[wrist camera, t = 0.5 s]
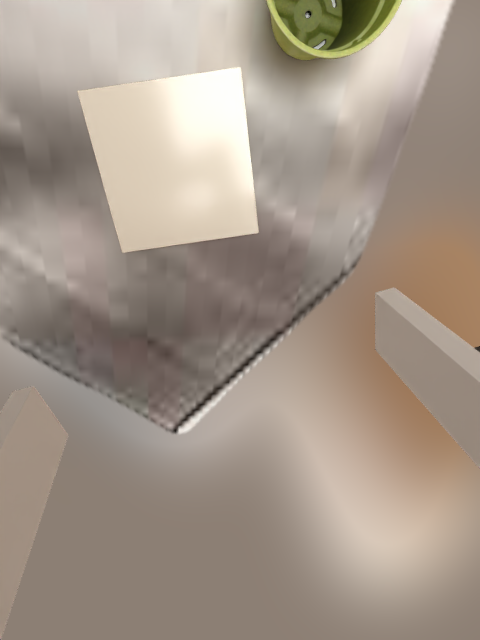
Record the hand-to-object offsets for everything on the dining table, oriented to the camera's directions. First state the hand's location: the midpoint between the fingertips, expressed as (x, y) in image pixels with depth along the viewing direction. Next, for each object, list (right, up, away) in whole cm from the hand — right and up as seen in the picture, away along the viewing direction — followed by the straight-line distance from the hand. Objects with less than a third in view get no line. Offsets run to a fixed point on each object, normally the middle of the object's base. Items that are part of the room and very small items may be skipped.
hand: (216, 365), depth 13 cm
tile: (-5, +16, +20) cm, 26 cm away
